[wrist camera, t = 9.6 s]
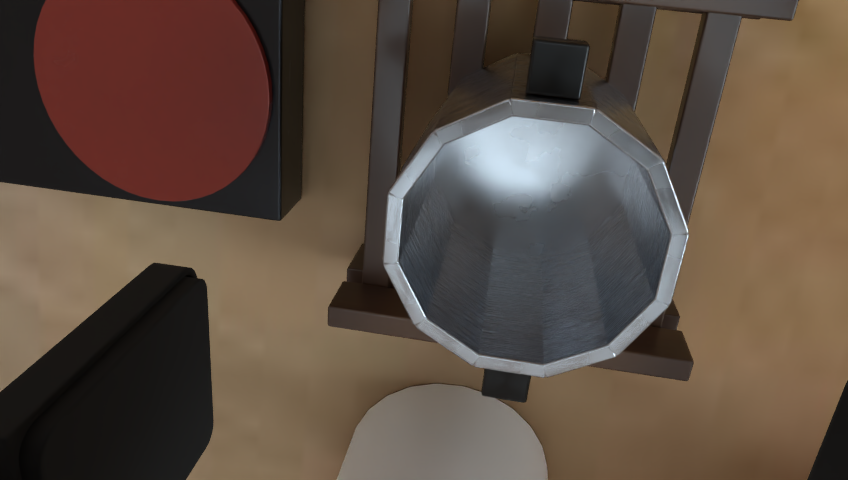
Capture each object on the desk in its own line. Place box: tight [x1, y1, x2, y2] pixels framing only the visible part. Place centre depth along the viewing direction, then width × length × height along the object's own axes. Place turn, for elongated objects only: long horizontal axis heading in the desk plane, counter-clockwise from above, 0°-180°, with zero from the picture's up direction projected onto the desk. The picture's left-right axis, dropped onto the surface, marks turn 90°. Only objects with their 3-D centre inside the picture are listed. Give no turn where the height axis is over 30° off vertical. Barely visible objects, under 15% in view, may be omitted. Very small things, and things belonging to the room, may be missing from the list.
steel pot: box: [383, 36, 689, 403], centre depth 19 cm, size 7×9×7 cm
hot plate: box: [33, 0, 272, 201], centre depth 23 cm, size 8×8×1 cm
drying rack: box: [328, 0, 799, 381], centre depth 23 cm, size 12×12×5 cm
